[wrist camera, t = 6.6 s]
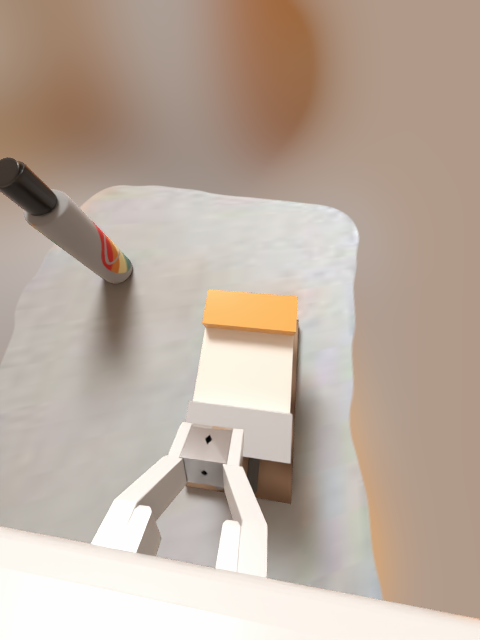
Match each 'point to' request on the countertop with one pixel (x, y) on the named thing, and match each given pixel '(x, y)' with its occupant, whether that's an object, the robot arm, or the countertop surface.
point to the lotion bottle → (63, 222)
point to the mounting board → (271, 473)
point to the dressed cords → (251, 474)
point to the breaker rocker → (248, 370)
